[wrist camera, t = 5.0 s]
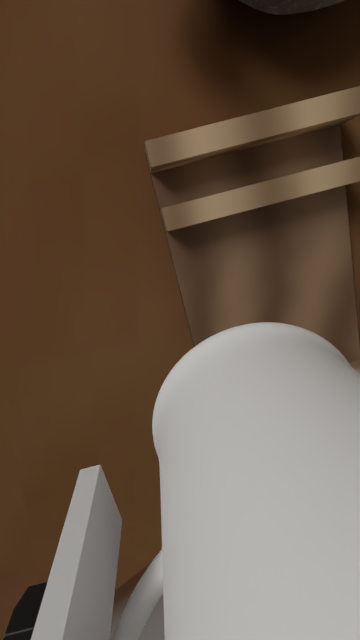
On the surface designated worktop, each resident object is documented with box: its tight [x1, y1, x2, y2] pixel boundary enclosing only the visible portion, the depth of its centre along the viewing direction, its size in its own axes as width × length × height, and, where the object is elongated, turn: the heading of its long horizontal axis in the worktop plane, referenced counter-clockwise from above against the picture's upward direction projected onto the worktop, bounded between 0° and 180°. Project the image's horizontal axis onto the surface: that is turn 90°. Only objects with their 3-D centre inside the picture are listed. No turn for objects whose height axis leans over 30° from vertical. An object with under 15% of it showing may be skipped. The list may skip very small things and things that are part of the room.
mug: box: [112, 322, 360, 640], centre depth 8 cm, size 12×8×12 cm
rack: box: [145, 86, 360, 373], centre depth 26 cm, size 14×22×4 cm, turn 14°
